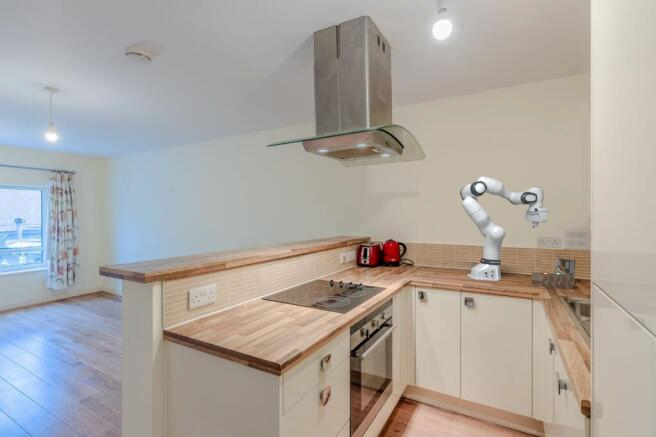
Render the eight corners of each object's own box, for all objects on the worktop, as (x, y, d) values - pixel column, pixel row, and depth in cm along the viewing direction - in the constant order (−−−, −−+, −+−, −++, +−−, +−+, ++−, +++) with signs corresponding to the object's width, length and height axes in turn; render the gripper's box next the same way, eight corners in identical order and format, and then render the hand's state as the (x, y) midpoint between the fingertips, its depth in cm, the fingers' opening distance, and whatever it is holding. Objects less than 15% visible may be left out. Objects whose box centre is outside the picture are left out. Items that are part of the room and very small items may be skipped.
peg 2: (556, 287, 200) (557, 273, 200) (550, 285, 206) (551, 271, 205) (565, 287, 200) (566, 274, 199) (559, 285, 205) (560, 272, 205)
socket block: (541, 288, 198) (541, 275, 198) (531, 284, 208) (532, 272, 208) (573, 289, 198) (573, 276, 197) (561, 284, 208) (562, 273, 207)
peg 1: (544, 287, 200) (544, 273, 200) (538, 284, 206) (539, 271, 205) (552, 287, 200) (553, 273, 200) (547, 285, 206) (547, 271, 205)
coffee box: (574, 283, 211) (576, 260, 211) (569, 284, 209) (570, 261, 208) (560, 280, 220) (561, 258, 219) (554, 281, 217) (556, 258, 216)
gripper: (523, 208, 237) (522, 226, 238) (540, 209, 217) (539, 229, 218) (531, 208, 237) (530, 226, 238) (549, 209, 217) (548, 229, 217)
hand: (534, 227), depth 228 cm, fingers closed
